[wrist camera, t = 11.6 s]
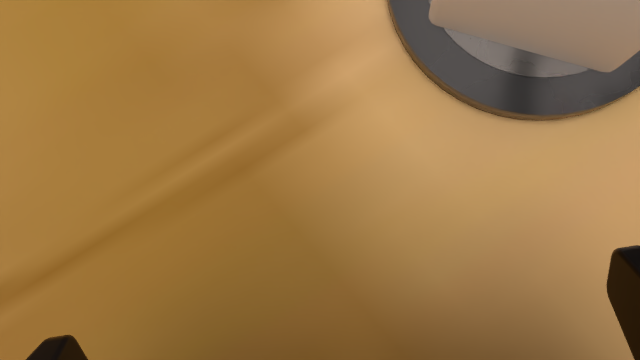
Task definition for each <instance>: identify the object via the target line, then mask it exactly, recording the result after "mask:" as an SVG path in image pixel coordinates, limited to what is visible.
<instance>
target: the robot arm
mask: <svg viewBox="0 0 640 360" xmlns="http://www.w3.org/2000/svg"><path fill="white" fill-rule="evenodd" d="M607 293H608V297H609V300H610V302H611V305H612V307H613V309H614V312H615V314H616V316H617V319H618V321H619V324H620V326H621V328H622V331H623V333H624V336H625V338H626V340H627V343H628V345H629V347H630V350H631V352H632V355H633V357H634V359H635V360H640V246H638V245H636V246H629V247H623V248H617V249H615V250H614V251H613V253H612V256H611V261H610V267H609V273H608V279H607ZM26 360H88V359H87V357H86V356H85V354H84V352H83V351H82V349H81V347H80V346H79V344H78V342H77V341H76V339H75V338H74V337H73V336H71V335H64V336H57V337H51V338H48V339H46V340H44V341H43V342H42V343H41V344H40V345H39V346H38V347H37V348H36V349H35V350H34V351H33V353H32V354H31V355H30V356H29V357H28V358H27V359H26Z"/></svg>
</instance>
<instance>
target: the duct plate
mask: <svg viewBox="0 0 640 360" xmlns="http://www.w3.org/2000/svg"><path fill="white" fill-rule="evenodd" d="M431 1H432V0H388V5H389V10H390V15H391V17H392V20H393V23H394V26H395V29H396V32H397V34H398V36H399V37H400V39H401V41H402V43H403V45H404V47H405V49H406V50H407V52H408V53H409V55H410V56H411V57H412V59H413V60H414V62H415V63H416V64H417V65H418V66H419V68H420V69H421V70H422V71H423V72H424V73H425V74H426V75H427V76H428V77H429V78H430V79H431V80H432V81H433V82H435V83H436V84H437V85H438V86H439V87H441V88H442V89H443V90H444V91H446V92H448V93H449V94H451V95H452V96H454V97H455V98H457V99H459V100H460V101H462V102H464V103H467V104H469V105H471V106H473V107H475V108H477V109H480V110H483V111H486V112H489V113H492V114H495V115H499V116H504V117H509V118H514V119H523V120H554V119H563V118H568V117H573V116H579V115H582V114H585V113H588V112H591V111H595V110H598V109H600V108H602V107H604V106H607V105H609V104H611V103H613V102H615V101H617V100H619V99H620V98H622V97H624V96H625V95H627V94H628V93H630V92H631V91H633V90H634V89H636V88H638V87H639V86H640V51H638V52H637V53H636V54H634V55H633V56H632V57H631V58H629V59H628V60H627V61H625V62H624V63H623V64H622V65H620V66H619V67H618V68H617V69H615V70H613V71H611V72H600V71H597V70H593V69H590V68H586V67H582V66H579V65H575V64H572V63H568V62H564V61H561V60H557V59H554V58H550V57H547V56H543V55H539V54H536V53H532V52H529V51H525V50H522V49H518V48H514V47H511V46H507V45H504V44H500V43H497V42H493V41H489V40H486V39H482V38H479V37H475V36H472V35H468V34H464V33H461V32H457V31H454V30H450V29H446V28H443V27H439V26H436V25H434V24H432V23H431V21H430V19H429V10H430V5H431Z"/></svg>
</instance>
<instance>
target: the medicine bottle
mask: <svg viewBox="0 0 640 360" xmlns="http://www.w3.org/2000/svg"><path fill="white" fill-rule="evenodd" d="M429 19H430V21H431V23H432V24H434V25H436V26H439V27H443V28H446V29H450V30H454V31H457V32H461V33H464V34H468V35H472V36H475V37H479V38H482V39H486V40H489V41H493V42H497V43H500V44H504V45H507V46H511V47H514V48H518V49H522V50H525V51H529V52H532V53H536V54H539V55H543V56H547V57H550V58H554V59H557V60H561V61H564V62H568V63H572V64H575V65H579V66H582V67H586V68H590V69H593V70H597V71H600V72H611V71H613V70H615V69H617V68H618V67H619V66H620V65H622V64H623V63H624V62H625V61H627V60H628V59H629V58H631V57H632V56H633V55H634V54H636V53H637V52H638V51H640V0H432V1H431V5H430V10H429Z"/></svg>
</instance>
